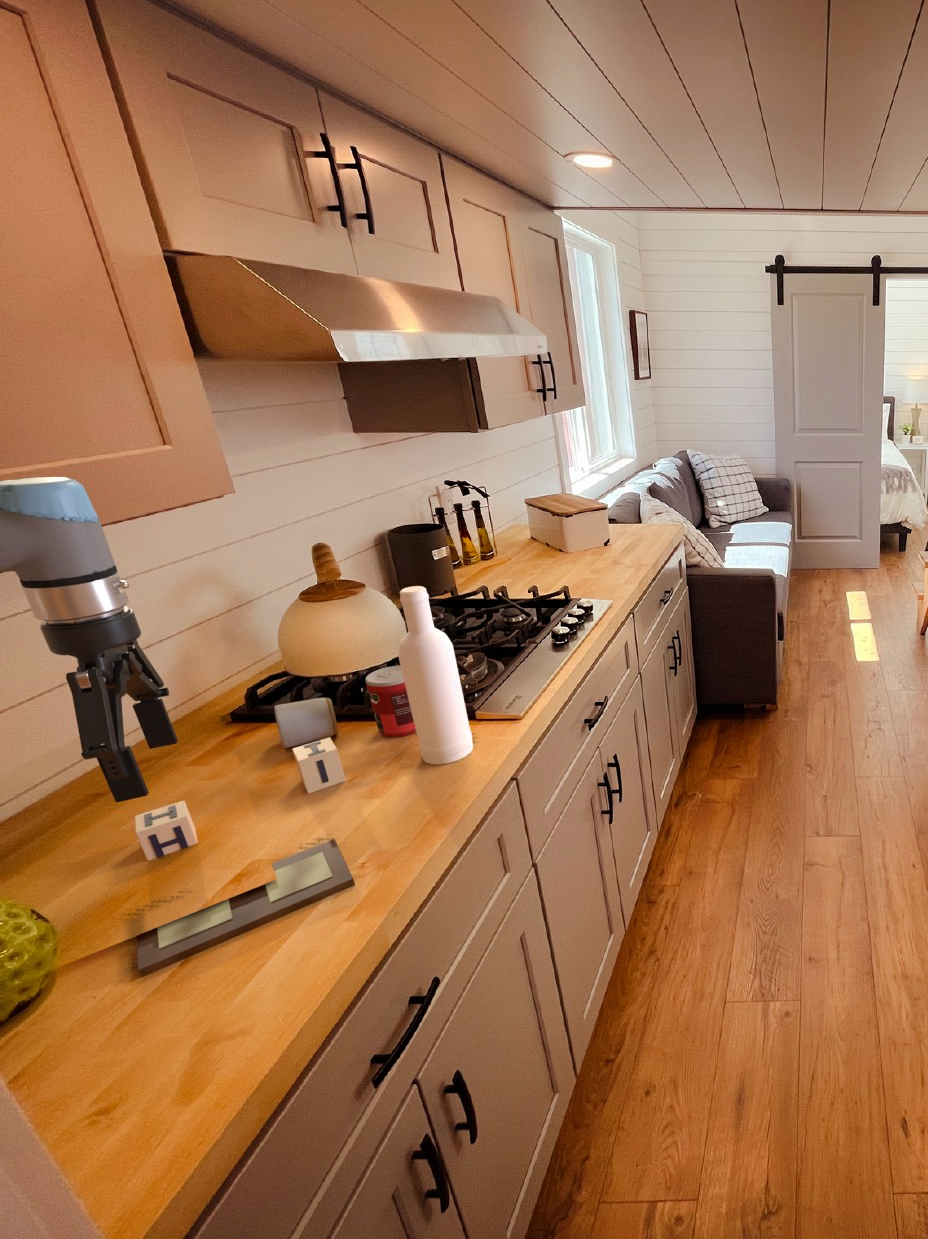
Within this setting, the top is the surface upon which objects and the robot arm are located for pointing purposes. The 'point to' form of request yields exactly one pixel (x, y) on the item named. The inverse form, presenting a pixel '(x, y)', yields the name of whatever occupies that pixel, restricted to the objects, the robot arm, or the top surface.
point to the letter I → (319, 765)
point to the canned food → (390, 702)
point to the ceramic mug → (305, 721)
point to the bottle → (432, 683)
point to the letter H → (165, 830)
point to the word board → (247, 907)
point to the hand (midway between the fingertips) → (149, 769)
